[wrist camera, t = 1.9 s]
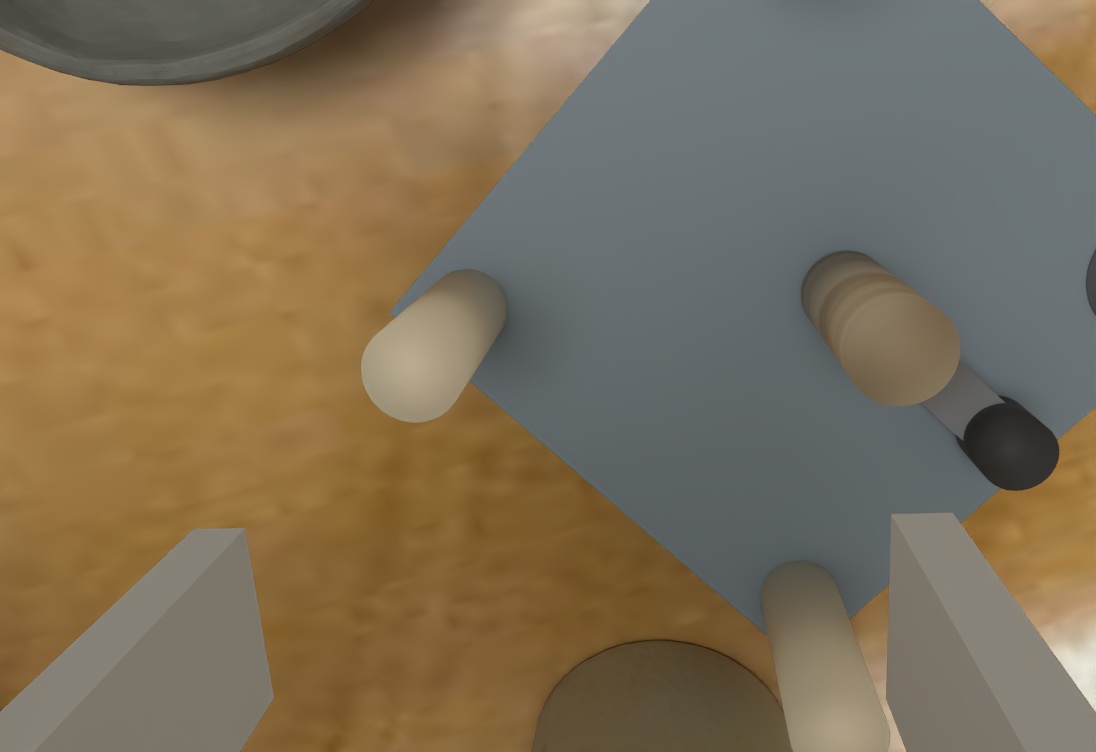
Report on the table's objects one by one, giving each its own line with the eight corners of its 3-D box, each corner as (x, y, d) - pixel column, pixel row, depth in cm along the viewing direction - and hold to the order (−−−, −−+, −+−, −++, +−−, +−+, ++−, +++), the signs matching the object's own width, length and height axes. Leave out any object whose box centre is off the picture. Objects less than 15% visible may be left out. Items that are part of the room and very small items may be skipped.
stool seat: (793, 630, 39) (843, 823, 28) (406, 298, 36) (310, 377, 26) (1219, 257, 33) (1472, 331, 23) (792, -162, 31) (861, -289, 21)
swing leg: (1050, 424, 32) (1170, 522, 25) (986, 480, 33) (1082, 592, 26) (845, 233, 31) (905, 276, 24) (783, 295, 32) (822, 356, 25)
